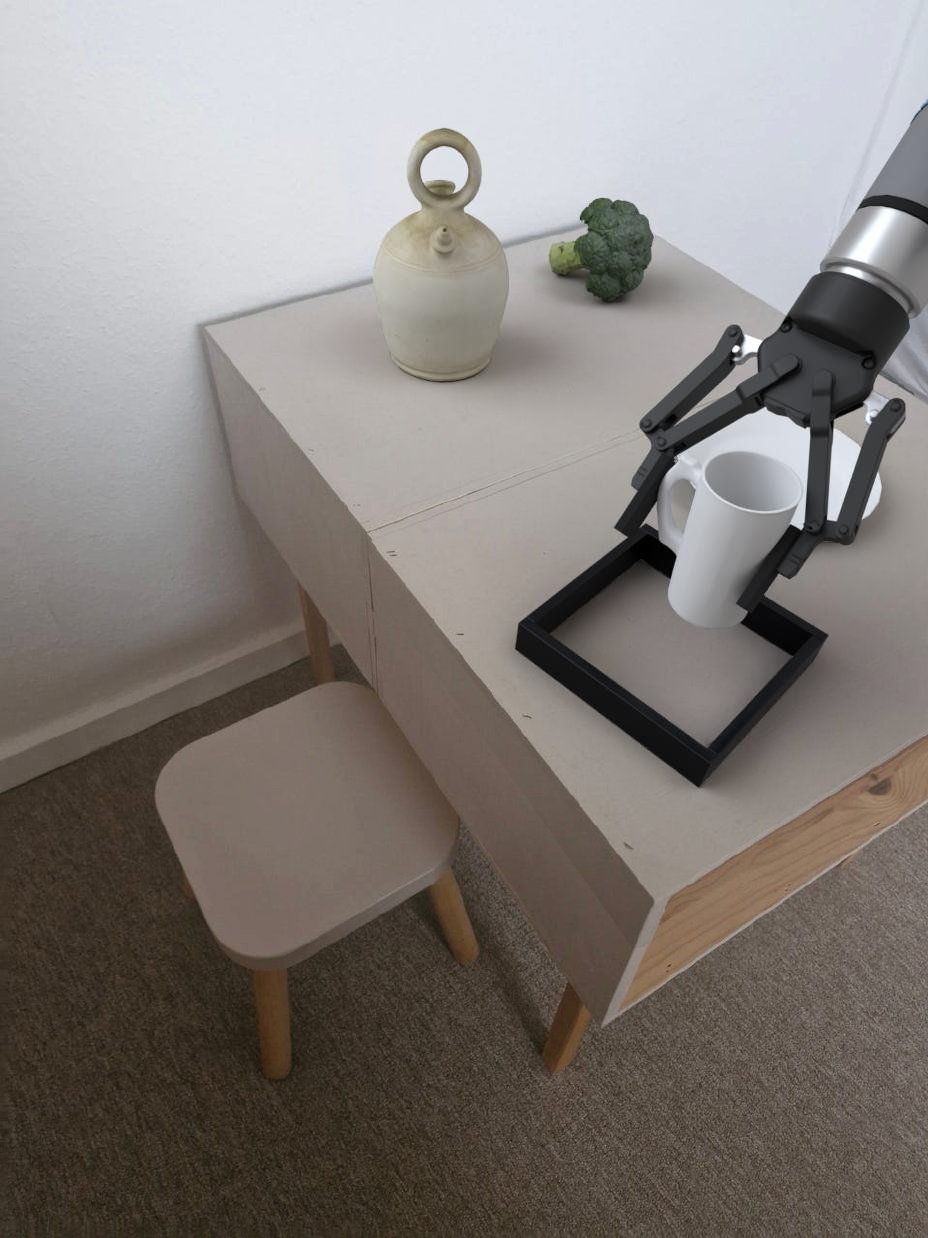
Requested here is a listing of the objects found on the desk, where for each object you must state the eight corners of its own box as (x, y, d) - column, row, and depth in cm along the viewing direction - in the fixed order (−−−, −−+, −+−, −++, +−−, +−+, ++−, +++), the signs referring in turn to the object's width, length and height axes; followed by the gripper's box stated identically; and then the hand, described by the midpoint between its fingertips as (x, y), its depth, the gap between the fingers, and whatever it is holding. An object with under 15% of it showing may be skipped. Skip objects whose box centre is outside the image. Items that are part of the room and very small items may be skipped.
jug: (399, 312, 109) (396, 94, 90) (515, 334, 107) (537, 115, 88) (357, 375, 99) (344, 145, 81) (484, 400, 97) (502, 170, 78)
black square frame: (814, 660, 74) (829, 634, 71) (698, 788, 65) (710, 764, 62) (638, 549, 82) (645, 522, 79) (514, 649, 73) (518, 622, 70)
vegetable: (582, 232, 122) (678, 211, 112) (572, 321, 122) (666, 308, 113) (534, 196, 113) (633, 170, 103) (522, 292, 113) (621, 275, 104)
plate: (913, 497, 89) (922, 480, 87) (787, 579, 80) (795, 562, 78) (758, 401, 99) (764, 384, 98) (632, 464, 91) (636, 447, 89)
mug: (768, 605, 66) (823, 485, 57) (715, 647, 63) (765, 527, 54) (668, 536, 71) (704, 416, 62) (614, 573, 68) (644, 451, 59)
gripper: (1021, 384, 57) (824, 659, 61) (733, 264, 67) (579, 507, 71) (1036, 340, 50) (813, 651, 54) (713, 214, 60) (545, 485, 64)
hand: (680, 569), depth 62 cm, fingers closed on mug, 10 cm apart
